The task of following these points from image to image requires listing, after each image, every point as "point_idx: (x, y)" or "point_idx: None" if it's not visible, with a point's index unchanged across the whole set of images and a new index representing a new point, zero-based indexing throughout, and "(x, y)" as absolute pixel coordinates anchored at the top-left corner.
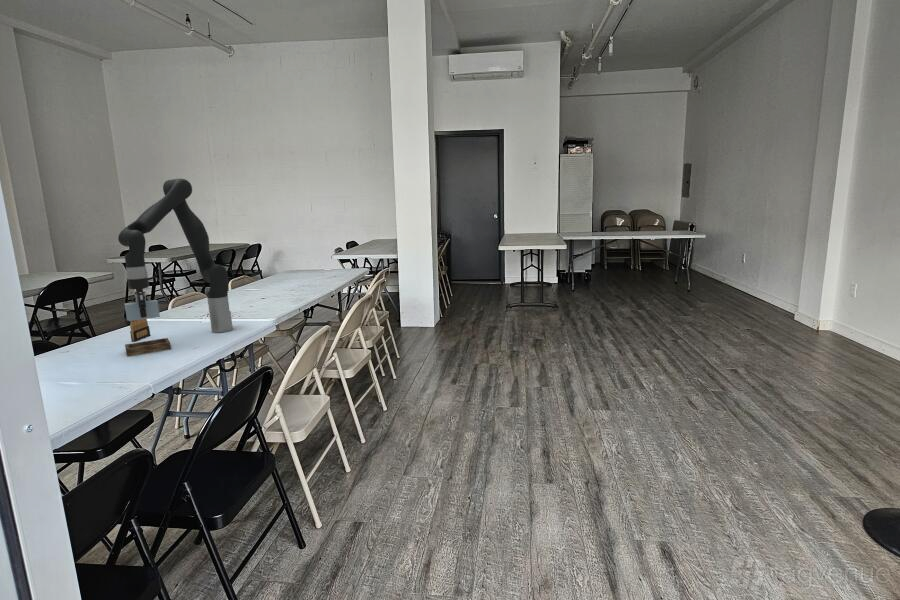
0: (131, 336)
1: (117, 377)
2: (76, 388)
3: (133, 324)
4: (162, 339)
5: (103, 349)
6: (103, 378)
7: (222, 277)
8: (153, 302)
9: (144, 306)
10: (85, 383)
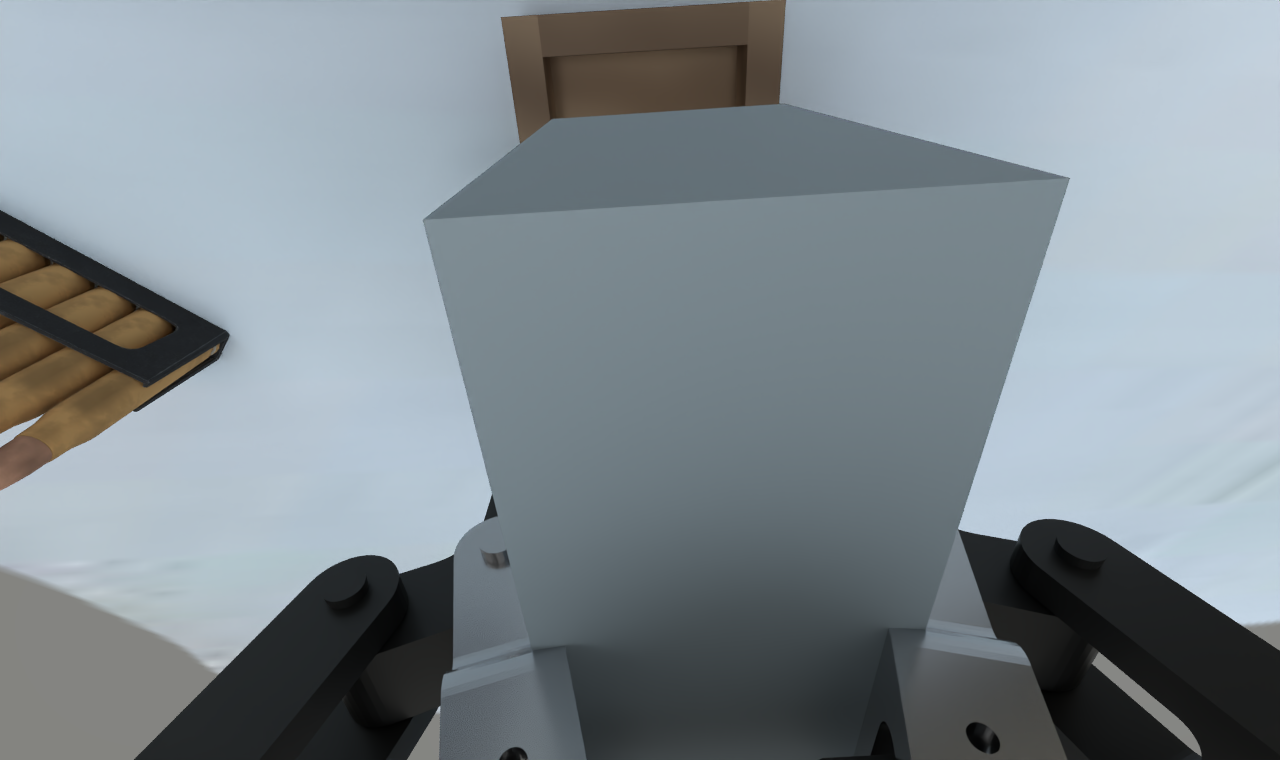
0: (180, 379)
1: (1242, 419)
2: (1213, 565)
3: (60, 420)
4: (546, 87)
5: (402, 513)
6: (1171, 480)
7: None
8: (972, 375)
9: (1112, 584)
10: (1168, 541)
